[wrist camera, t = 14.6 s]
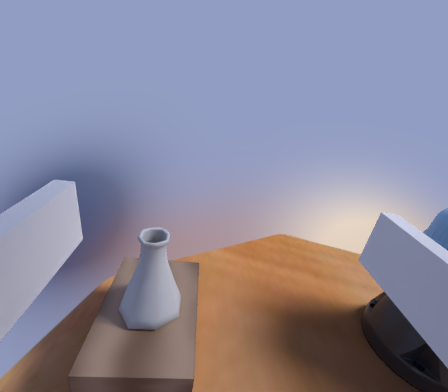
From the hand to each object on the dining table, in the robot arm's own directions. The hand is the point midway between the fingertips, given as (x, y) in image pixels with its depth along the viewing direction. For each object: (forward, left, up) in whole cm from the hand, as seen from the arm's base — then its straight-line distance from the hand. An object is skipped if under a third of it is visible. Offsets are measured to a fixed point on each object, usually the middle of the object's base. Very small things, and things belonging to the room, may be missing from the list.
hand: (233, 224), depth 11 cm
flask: (+5, -12, -20) cm, 24 cm away
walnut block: (+5, -12, -26) cm, 30 cm away
